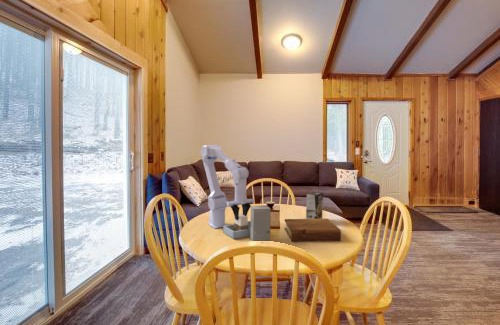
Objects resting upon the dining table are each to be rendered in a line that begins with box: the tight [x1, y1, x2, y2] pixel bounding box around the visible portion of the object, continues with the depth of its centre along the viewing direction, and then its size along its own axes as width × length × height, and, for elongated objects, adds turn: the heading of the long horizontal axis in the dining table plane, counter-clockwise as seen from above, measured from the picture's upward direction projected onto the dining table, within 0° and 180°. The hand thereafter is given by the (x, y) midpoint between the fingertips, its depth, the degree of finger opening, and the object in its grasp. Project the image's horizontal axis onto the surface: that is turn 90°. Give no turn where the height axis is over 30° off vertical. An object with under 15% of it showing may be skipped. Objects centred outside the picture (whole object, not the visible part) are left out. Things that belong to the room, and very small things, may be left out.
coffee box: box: [305, 191, 324, 219], centre depth 158 cm, size 9×6×16 cm
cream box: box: [234, 213, 249, 226], centre depth 138 cm, size 6×4×4 cm, turn 33°
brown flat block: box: [284, 218, 342, 243], centre depth 137 cm, size 23×19×6 cm
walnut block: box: [233, 222, 248, 232], centre depth 138 cm, size 6×4×4 cm
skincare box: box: [249, 205, 272, 242], centre depth 129 cm, size 8×7×16 cm
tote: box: [222, 220, 251, 240], centre depth 140 cm, size 11×18×3 cm, turn 123°
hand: (240, 218), depth 138 cm, fingers closed on cream box, 4 cm apart
